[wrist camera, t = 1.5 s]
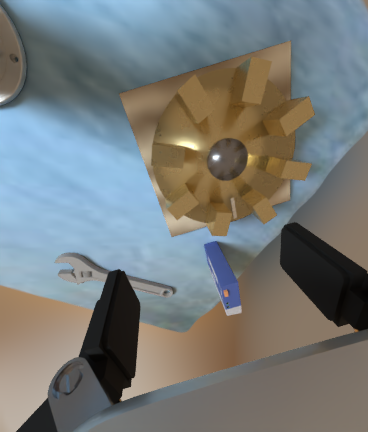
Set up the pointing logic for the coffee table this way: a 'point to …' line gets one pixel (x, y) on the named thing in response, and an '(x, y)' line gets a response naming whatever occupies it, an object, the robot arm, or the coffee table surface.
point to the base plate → (164, 92)
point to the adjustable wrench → (103, 275)
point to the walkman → (223, 279)
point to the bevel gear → (228, 146)
